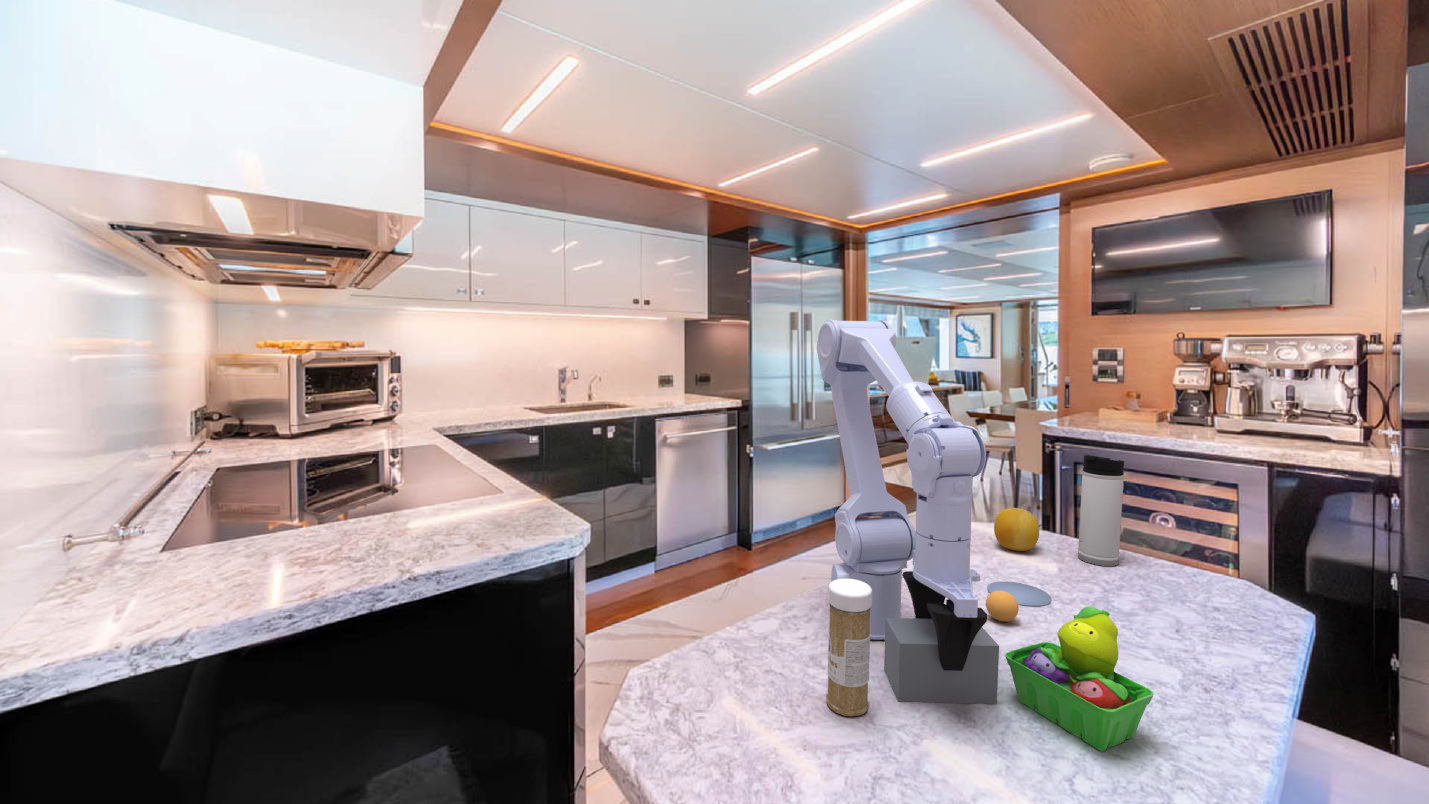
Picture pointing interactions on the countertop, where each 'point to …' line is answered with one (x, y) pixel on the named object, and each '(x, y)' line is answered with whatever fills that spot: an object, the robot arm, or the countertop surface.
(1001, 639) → the countertop surface
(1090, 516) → the travel mug
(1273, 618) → the countertop surface
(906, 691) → the grey rectangular block
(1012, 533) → the fruit
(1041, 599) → the disc
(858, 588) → the spice jar
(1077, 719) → the fruit basket
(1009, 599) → the ball
